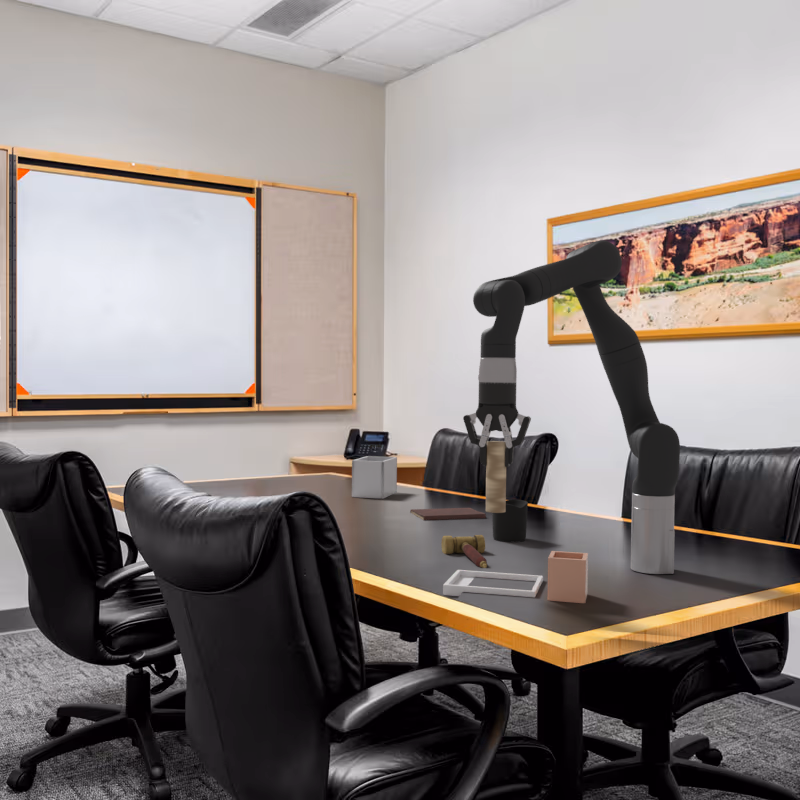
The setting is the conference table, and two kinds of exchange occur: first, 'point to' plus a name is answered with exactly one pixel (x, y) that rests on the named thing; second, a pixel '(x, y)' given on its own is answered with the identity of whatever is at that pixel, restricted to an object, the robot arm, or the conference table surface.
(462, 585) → the tray
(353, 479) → the gray open-top cube
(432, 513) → the notebook
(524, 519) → the pen holder
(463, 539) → the gavel
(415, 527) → the conference table surface
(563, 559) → the pink open-ended box
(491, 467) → the dowel pin
